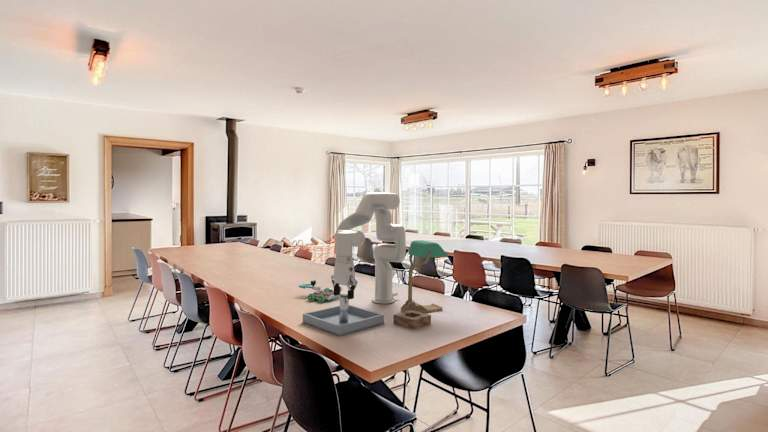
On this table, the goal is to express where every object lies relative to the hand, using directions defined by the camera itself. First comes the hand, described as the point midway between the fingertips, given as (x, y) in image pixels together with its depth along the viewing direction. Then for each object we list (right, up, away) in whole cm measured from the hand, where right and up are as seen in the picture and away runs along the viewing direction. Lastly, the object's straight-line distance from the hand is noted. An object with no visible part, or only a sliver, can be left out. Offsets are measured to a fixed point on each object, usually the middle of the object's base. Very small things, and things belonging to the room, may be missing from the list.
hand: (343, 296), depth 192 cm
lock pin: (0, -11, 0) cm, 11 cm away
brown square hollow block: (+31, -12, +1) cm, 33 cm away
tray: (0, -12, +1) cm, 12 cm away
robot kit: (-19, -10, +49) cm, 53 cm away
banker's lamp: (+38, -12, +23) cm, 46 cm away
